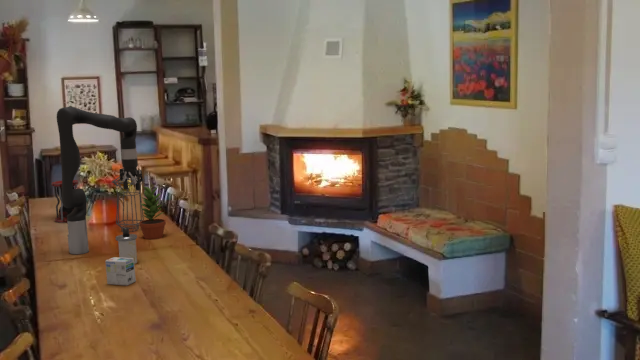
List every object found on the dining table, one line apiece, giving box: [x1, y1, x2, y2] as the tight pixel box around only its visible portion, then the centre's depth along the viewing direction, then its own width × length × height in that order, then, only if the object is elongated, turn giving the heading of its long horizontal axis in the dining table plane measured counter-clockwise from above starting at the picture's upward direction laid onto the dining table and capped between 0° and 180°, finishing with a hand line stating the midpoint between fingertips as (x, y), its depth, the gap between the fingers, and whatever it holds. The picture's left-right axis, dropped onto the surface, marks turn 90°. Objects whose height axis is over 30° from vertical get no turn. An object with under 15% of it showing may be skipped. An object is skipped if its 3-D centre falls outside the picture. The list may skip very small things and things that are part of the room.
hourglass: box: [51, 179, 79, 224], centre depth 454 cm, size 16×16×25 cm
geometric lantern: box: [111, 176, 146, 233], centre depth 418 cm, size 16×16×35 cm
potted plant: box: [138, 185, 167, 240], centre depth 398 cm, size 15×15×30 cm
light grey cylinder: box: [117, 239, 138, 265], centre depth 345 cm, size 8×8×12 cm
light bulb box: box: [104, 256, 137, 286], centre depth 312 cm, size 11×7×11 cm, turn 71°
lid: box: [115, 227, 138, 242], centre depth 344 cm, size 10×10×5 cm
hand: (131, 189), depth 358 cm, fingers open, 8 cm apart
